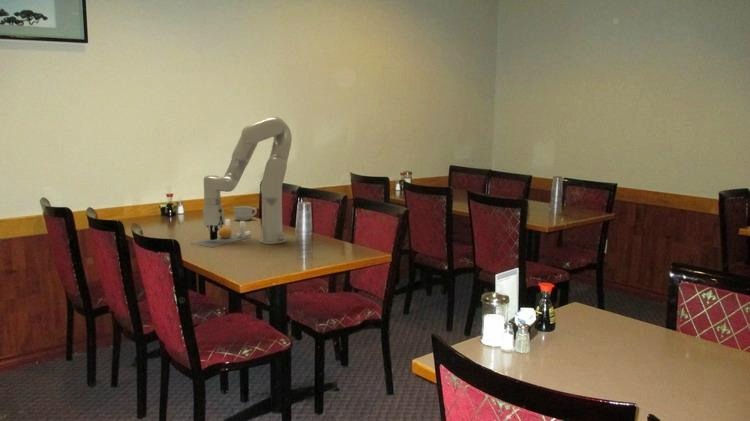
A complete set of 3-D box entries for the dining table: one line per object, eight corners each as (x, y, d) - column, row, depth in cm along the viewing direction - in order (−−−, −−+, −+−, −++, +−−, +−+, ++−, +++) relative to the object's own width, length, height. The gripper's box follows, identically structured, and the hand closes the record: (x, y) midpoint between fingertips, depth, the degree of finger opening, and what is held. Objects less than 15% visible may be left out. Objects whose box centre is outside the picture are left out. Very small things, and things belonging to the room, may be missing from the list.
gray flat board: (250, 237, 294) (250, 237, 294) (212, 247, 272) (212, 246, 272) (230, 234, 301) (230, 234, 301) (190, 243, 279) (190, 243, 279)
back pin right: (231, 235, 298) (231, 219, 296) (228, 236, 296) (227, 220, 294) (228, 235, 299) (227, 218, 297) (224, 236, 297) (224, 219, 295)
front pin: (235, 235, 293) (246, 232, 300) (237, 239, 292) (249, 236, 300) (237, 232, 292) (248, 229, 299) (240, 236, 291) (251, 233, 299)
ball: (228, 223, 290) (224, 232, 286) (235, 230, 294) (231, 240, 290) (218, 224, 292) (215, 234, 288) (225, 232, 296) (221, 241, 292)
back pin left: (246, 238, 293) (245, 221, 291) (242, 239, 291) (242, 222, 289) (242, 237, 294) (242, 220, 292) (239, 238, 292) (238, 221, 290)
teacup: (230, 220, 339) (229, 207, 338) (242, 217, 349) (242, 204, 347) (248, 223, 333) (248, 209, 331) (261, 220, 342) (260, 206, 341)
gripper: (229, 202, 279) (230, 239, 282) (207, 199, 286) (208, 236, 289) (218, 204, 272) (219, 242, 275) (195, 201, 280) (196, 238, 283)
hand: (213, 239), depth 282 cm, fingers closed
